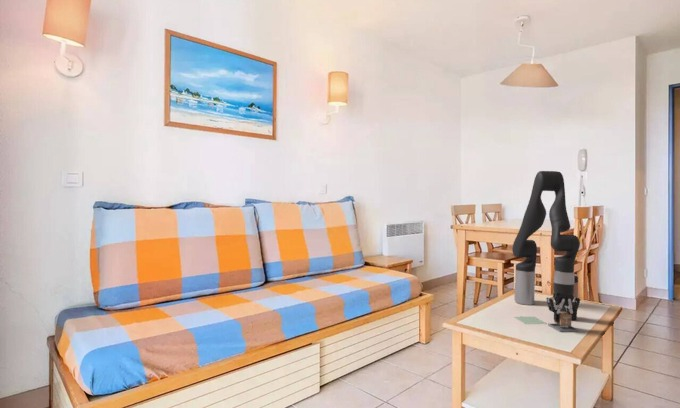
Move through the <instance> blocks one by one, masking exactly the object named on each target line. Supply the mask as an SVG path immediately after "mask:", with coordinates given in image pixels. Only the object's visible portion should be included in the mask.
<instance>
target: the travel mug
mask: <svg viewBox="0 0 680 408" xmlns="http://www.w3.org/2000/svg"><path fill="white" fill-rule="evenodd" d="M578 291H579V277H578V276H577V275H575V274H574V294H573V296H574V297H577V298H579V297H578V295H579V292H578ZM572 303H573V301H572V302H571V304H572ZM558 306H559V305H558ZM560 312H567V311H566V307H565V306H562V309H560ZM577 317H578V311H577V312H573V313H572V321H571V322H575V321H577V319H578V318H577Z"/></svg>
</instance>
